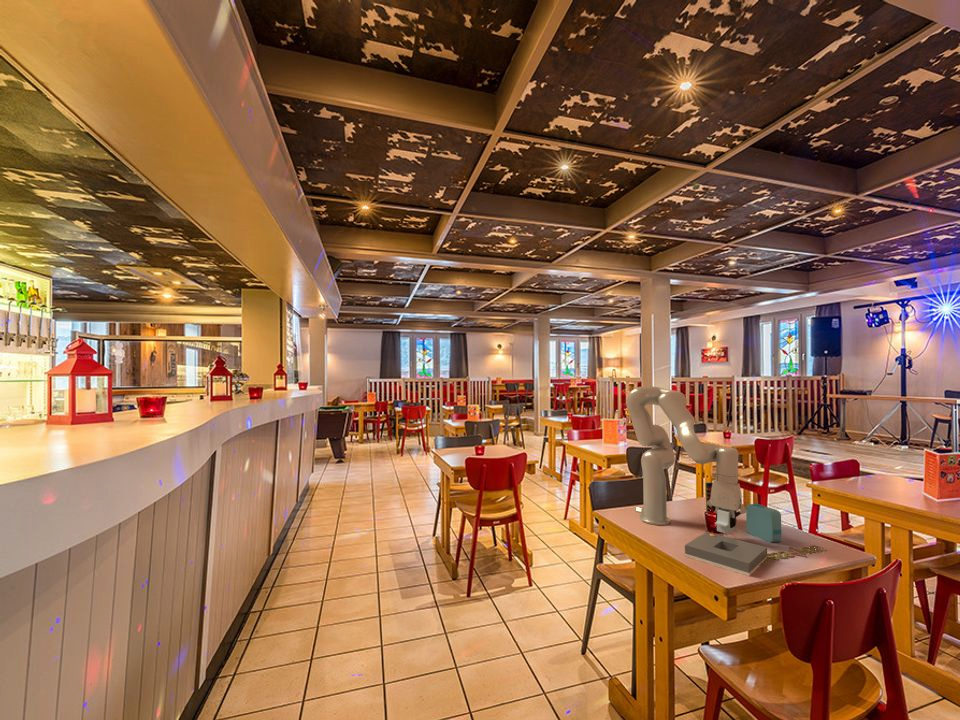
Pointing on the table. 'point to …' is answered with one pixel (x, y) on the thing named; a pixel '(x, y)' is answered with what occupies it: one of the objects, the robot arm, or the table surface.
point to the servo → (724, 521)
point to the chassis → (726, 553)
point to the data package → (763, 522)
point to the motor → (708, 495)
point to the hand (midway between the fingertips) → (725, 525)
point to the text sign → (801, 552)
